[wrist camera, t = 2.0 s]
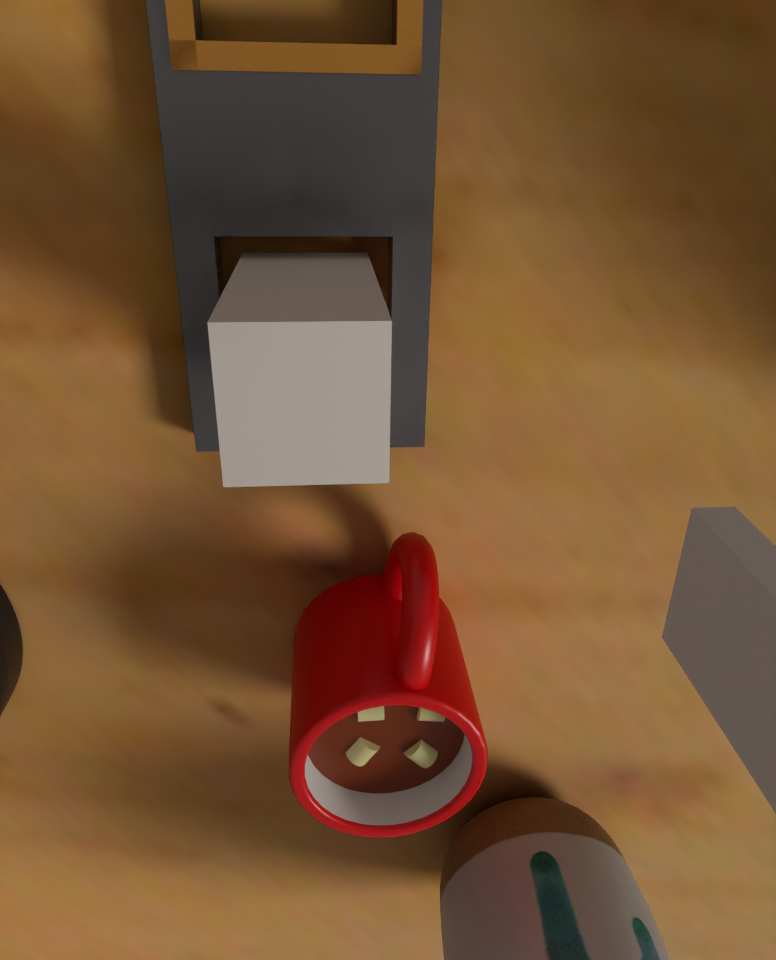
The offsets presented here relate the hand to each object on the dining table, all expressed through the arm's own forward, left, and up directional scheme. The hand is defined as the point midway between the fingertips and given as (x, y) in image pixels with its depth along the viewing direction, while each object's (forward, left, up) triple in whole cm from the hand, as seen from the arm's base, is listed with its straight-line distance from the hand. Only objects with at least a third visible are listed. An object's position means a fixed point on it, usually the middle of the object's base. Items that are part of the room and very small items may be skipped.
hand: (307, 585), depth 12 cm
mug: (+3, -14, -18) cm, 23 cm away
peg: (0, 0, -18) cm, 18 cm away
